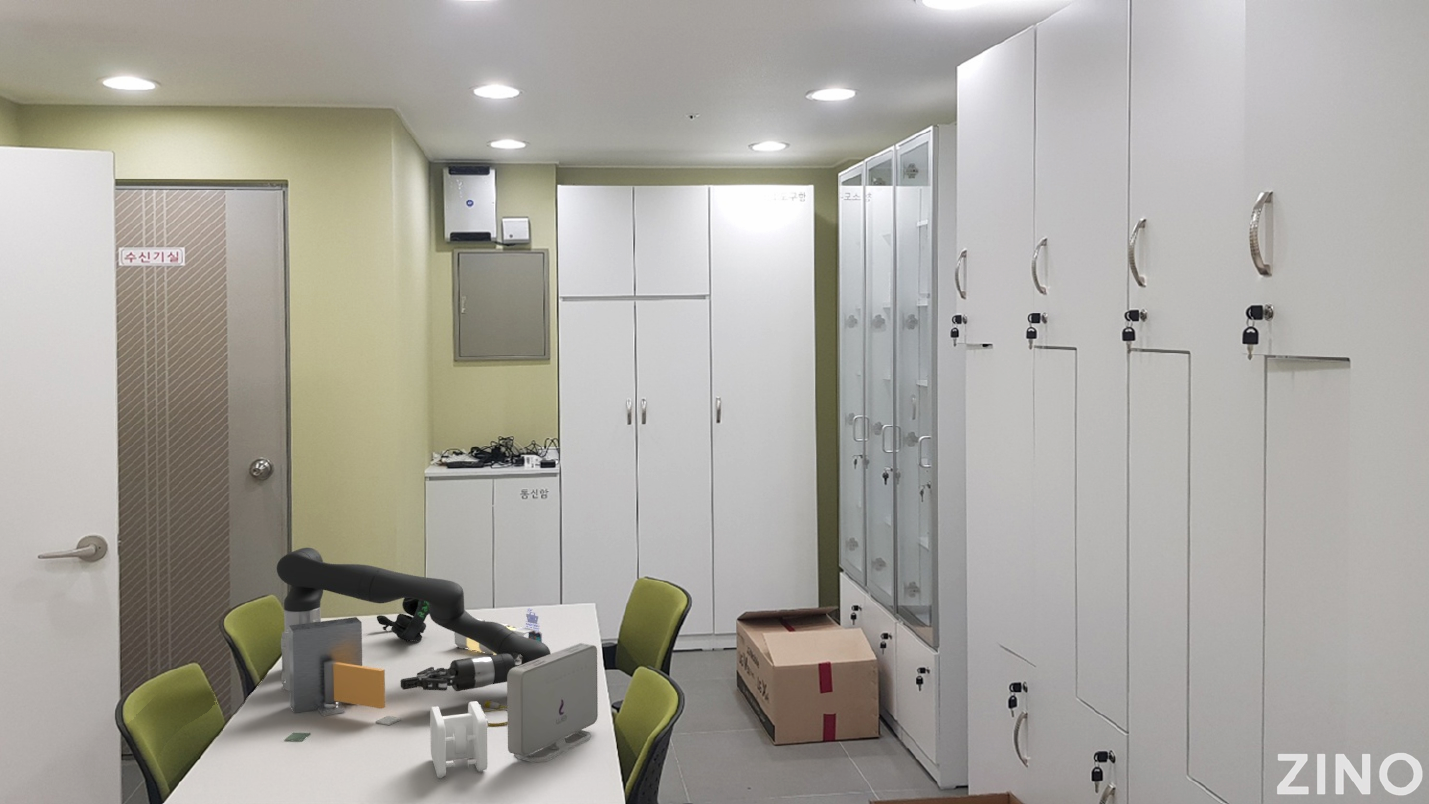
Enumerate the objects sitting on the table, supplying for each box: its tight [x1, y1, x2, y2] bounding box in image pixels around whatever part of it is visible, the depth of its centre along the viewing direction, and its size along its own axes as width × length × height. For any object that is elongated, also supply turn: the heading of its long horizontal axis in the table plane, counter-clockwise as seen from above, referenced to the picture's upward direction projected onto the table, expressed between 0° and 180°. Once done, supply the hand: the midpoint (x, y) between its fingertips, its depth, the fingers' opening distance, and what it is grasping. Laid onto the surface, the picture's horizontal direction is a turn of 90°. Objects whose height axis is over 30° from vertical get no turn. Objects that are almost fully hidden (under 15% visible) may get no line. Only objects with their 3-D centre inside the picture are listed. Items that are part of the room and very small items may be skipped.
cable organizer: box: [429, 700, 489, 779], centre depth 217 cm, size 15×11×12 cm
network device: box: [506, 642, 599, 763], centre depth 228 cm, size 26×9×20 cm, turn 148°
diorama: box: [454, 607, 543, 662], centre depth 302 cm, size 25×10×13 cm, turn 57°
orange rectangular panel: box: [324, 660, 386, 710], centre depth 248 cm, size 18×3×10 cm, turn 66°
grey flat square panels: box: [284, 616, 402, 742], centre depth 247 cm, size 26×26×20 cm
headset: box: [376, 598, 430, 643], centre depth 315 cm, size 18×14×29 cm
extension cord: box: [483, 699, 508, 727], centre depth 248 cm, size 12×16×2 cm
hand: (401, 684), depth 247 cm, fingers closed
